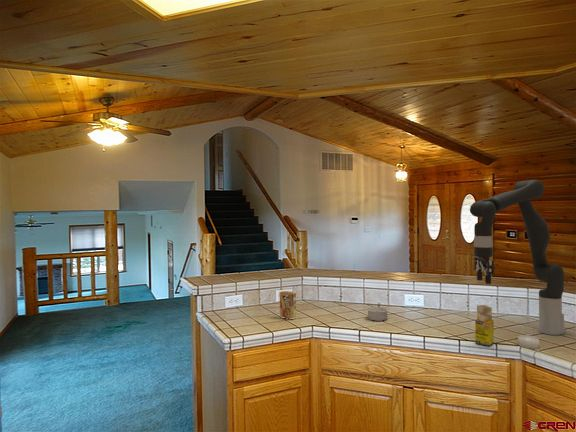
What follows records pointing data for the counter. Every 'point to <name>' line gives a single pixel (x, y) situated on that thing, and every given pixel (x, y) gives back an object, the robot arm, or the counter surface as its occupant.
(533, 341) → the white rounded lump
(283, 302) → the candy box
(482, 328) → the supplement box
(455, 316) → the counter surface
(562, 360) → the counter surface
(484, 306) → the beech block
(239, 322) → the counter surface
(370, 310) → the saucepan
